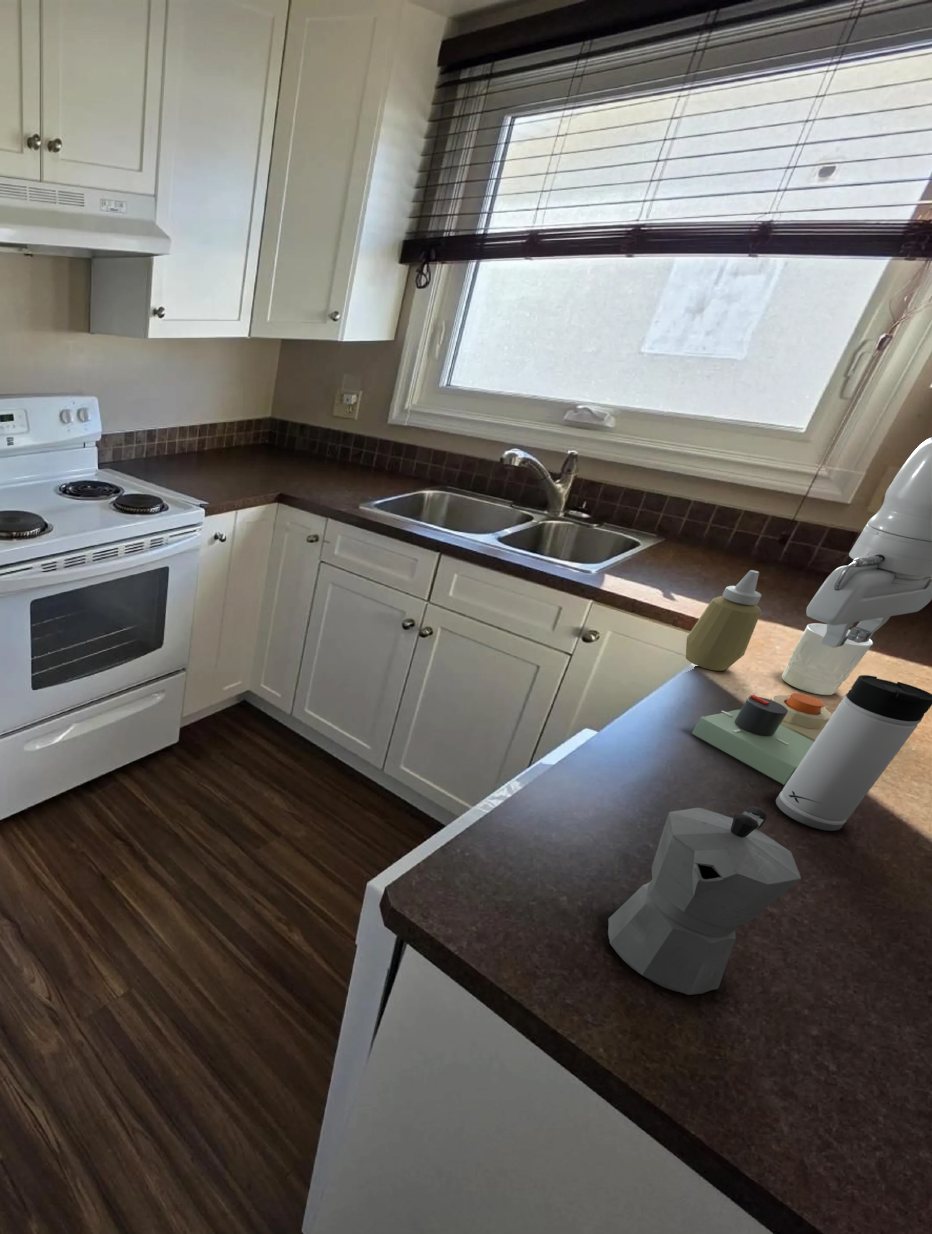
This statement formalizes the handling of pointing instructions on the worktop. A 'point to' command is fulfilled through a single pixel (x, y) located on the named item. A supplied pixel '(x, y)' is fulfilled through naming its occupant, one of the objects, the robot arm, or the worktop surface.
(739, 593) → the squeeze bottle
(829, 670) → the white cup
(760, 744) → the dial panel
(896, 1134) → the worktop surface
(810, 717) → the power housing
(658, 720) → the worktop surface
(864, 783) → the travel mug
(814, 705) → the power button
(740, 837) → the coffeepot
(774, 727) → the timer dial
